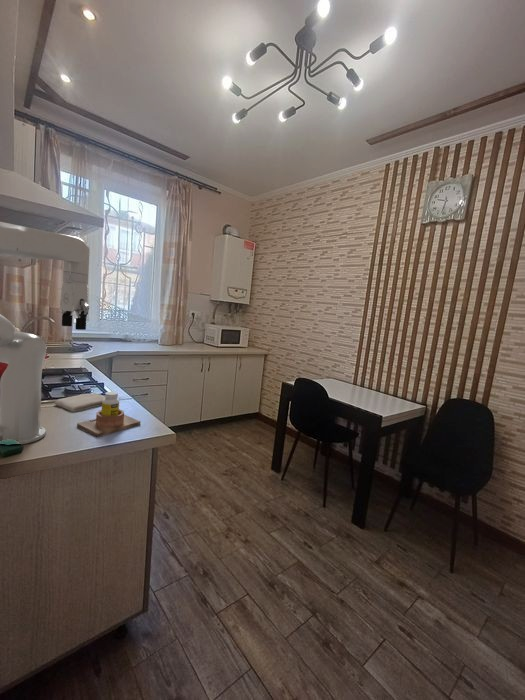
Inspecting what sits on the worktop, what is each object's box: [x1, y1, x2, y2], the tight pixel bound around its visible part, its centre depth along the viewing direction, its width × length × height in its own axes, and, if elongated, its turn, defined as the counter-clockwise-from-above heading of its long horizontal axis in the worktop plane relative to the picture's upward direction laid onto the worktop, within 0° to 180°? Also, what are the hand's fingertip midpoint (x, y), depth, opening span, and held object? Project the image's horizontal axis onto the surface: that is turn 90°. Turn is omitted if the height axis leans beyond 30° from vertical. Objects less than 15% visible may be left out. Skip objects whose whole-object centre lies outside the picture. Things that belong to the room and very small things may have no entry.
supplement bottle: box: [101, 391, 120, 416], centre depth 106 cm, size 5×5×10 cm
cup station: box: [76, 408, 141, 438], centre depth 107 cm, size 16×12×5 cm
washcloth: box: [54, 392, 105, 413], centre depth 125 cm, size 12×18×3 cm, turn 154°
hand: (73, 327), depth 108 cm, fingers open, 9 cm apart
